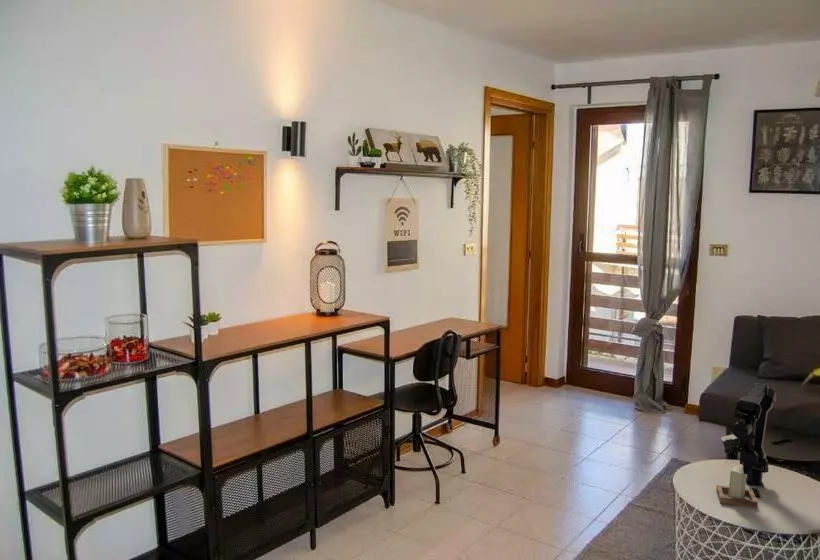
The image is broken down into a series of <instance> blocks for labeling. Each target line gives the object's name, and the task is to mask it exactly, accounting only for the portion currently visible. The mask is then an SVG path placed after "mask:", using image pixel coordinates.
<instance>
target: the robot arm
mask: <svg viewBox="0 0 820 560" xmlns="http://www.w3.org/2000/svg"><path fill="white" fill-rule="evenodd" d="M776 402H777V393H776V391H775V390H774V389H772V388H770V387H769V385H767V384H764V383H759V382H756V383H754V384H753V386H752V389H751V391H750V392H749V394H748V395H746V396H742V397H740V398H739V400H737V402H736V408H735V411H734V413H733V414H734V415H733V417H734V418H737V422H736V423H735V424H734V425H732V428H731V433H732V434H728V435H724V436H721V437H720V438H721V441H722V442H721V443H722V445H723V447H724V449H729V448H732V447H733V448H735V449H736V450H737V453H738V454H737V455H738V460H739V465H742V467H743V472H744V474H747V475H746V485H748V486H756V487H762V488H764V487H765V485H764V482H763V474H766V473H769V469H770V468H769V462H768V459H767V453H766V451H765V449H764V448H765V447H764V443H765V442H764V441H765V435H766V429H767V423H768V422H767V421H768V414H769V412H770V411H771V410H772V409H773V408H774V405H775V404H776Z"/></svg>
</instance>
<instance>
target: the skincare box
mask: <svg viewBox="0 0 820 560" xmlns="http://www.w3.org/2000/svg"><path fill="white" fill-rule="evenodd" d="M746 477H747V474H744V472H743V466H739V465H735V466H734V467H732V468H731V470H730V476H729V485H728V487H729V495H728V497H733V498H741V499H743V498H744V496H745V489H746V487H747V486H746V485H747V484H746Z"/></svg>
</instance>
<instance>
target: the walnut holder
mask: <svg viewBox="0 0 820 560" xmlns="http://www.w3.org/2000/svg"><path fill="white" fill-rule="evenodd" d="M715 489H716V494H717V498H718V501H719V504H722V505H729V506H735V507H743V508H749V509H751V508H752V509H758V504H759V502H758V500H757V498H756V495H755V493H754V490H753V489H748V488H745V496H744V498H743V499H741V498H733V497H728V495H729V486H725V485H718V484H716V488H715Z"/></svg>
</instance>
